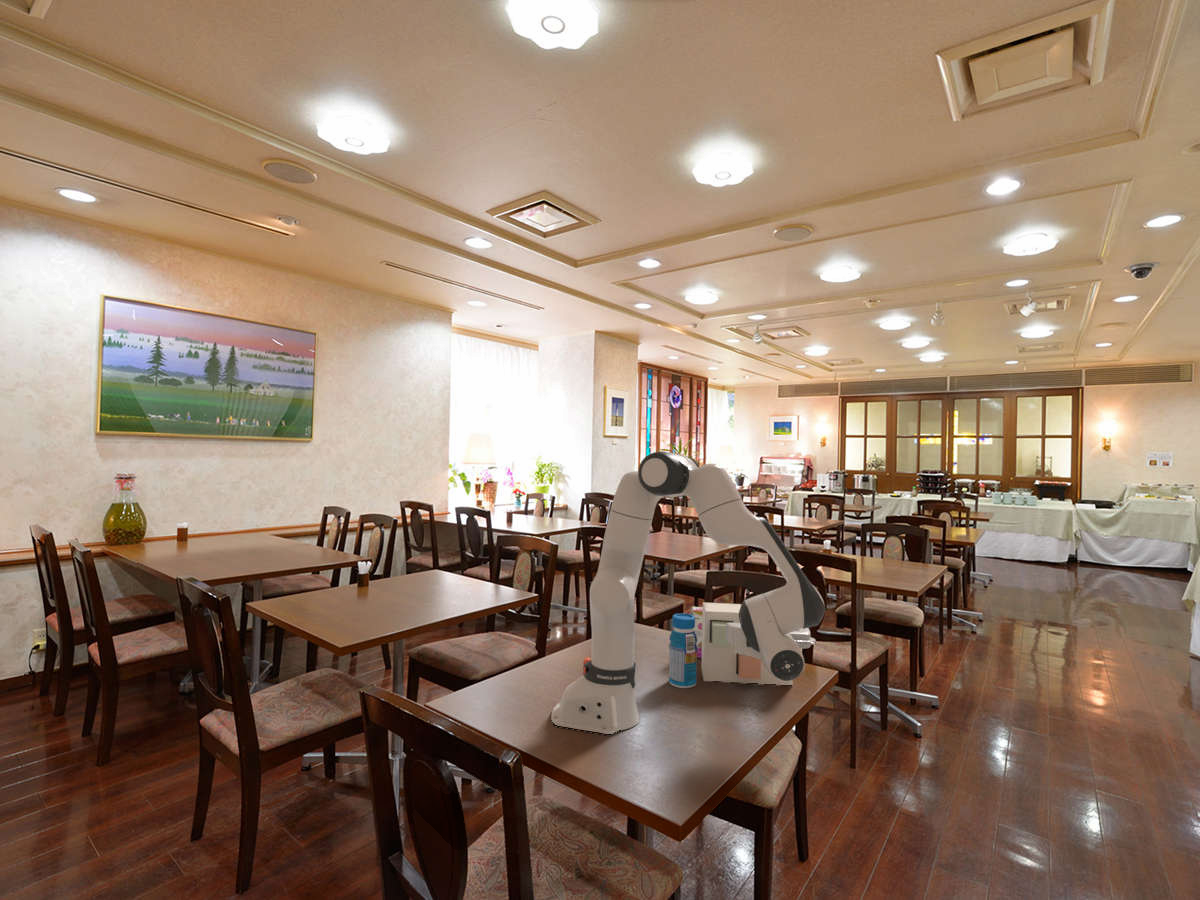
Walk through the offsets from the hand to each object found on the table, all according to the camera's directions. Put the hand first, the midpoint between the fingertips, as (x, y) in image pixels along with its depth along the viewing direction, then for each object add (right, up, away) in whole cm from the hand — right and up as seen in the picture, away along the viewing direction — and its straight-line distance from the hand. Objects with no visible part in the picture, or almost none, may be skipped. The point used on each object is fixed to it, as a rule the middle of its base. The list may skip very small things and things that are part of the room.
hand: (762, 625), depth 152 cm
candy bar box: (-6, -24, +45) cm, 51 cm away
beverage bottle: (-18, -24, +22) cm, 37 cm away
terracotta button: (+2, -21, +22) cm, 30 cm away
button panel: (+2, -24, +28) cm, 37 cm away
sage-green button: (-6, -12, +23) cm, 26 cm away
